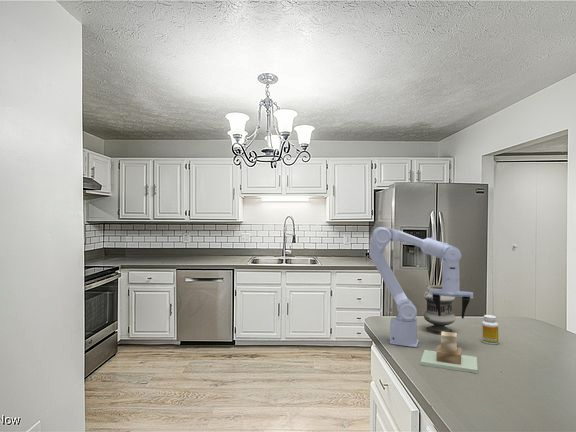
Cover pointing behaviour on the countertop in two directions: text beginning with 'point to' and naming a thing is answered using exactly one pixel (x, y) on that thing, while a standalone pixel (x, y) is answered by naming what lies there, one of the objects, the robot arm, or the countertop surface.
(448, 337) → the maple brick
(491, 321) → the supplement bottle
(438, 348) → the base block
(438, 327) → the apothecary jar
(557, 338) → the countertop surface
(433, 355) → the baseplate
